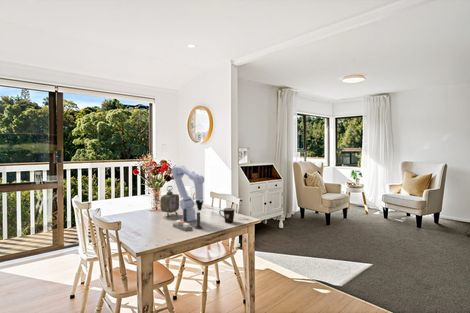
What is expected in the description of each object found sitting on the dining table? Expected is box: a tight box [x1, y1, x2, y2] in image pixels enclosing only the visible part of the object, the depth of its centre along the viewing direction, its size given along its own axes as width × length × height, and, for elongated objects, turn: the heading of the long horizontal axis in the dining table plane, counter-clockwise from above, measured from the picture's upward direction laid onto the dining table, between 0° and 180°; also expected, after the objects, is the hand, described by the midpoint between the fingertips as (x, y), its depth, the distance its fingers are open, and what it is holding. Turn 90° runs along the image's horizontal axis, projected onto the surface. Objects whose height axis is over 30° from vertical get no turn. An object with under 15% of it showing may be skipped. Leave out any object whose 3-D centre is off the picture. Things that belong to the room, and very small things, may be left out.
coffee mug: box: [218, 207, 235, 224], centre depth 217 cm, size 12×9×10 cm
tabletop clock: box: [159, 185, 180, 218], centre depth 236 cm, size 14×9×25 cm, turn 153°
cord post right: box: [194, 211, 203, 230], centre depth 201 cm, size 5×5×11 cm
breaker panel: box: [172, 219, 193, 232], centre depth 202 cm, size 6×16×4 cm, turn 44°
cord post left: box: [182, 209, 189, 223], centre depth 213 cm, size 5×5×11 cm
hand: (199, 210), depth 211 cm, fingers closed
